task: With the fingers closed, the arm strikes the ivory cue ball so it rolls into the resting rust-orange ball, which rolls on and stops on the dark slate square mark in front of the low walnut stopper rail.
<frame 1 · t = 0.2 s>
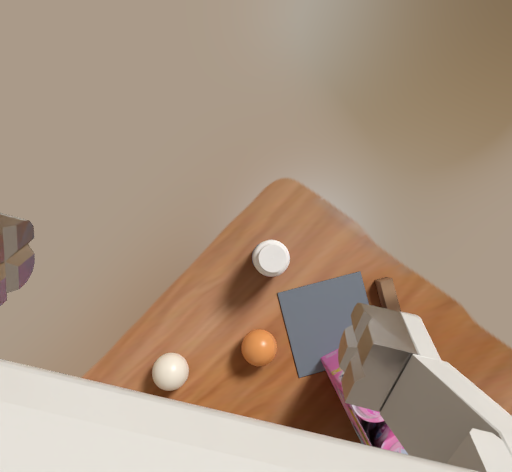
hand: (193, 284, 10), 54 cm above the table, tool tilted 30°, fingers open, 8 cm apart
object ball: (259, 347, 61), on the table
pill bottle: (268, 257, 64), on the table
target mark: (329, 324, 64), on the table
cue ball: (170, 371, 60), on the table
stopper: (388, 308, 64), on the table
gum box: (369, 408, 64), on the table
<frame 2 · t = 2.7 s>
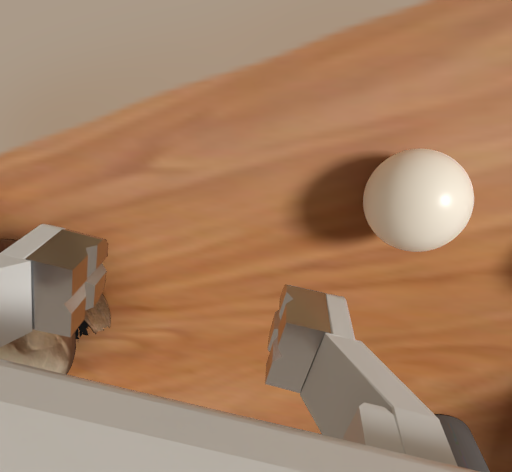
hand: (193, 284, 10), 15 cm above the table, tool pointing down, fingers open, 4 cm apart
skull: (36, 302, 30), on the table
bottle: (433, 435, 33), on the table
cue ball: (415, 200, 21), on the table
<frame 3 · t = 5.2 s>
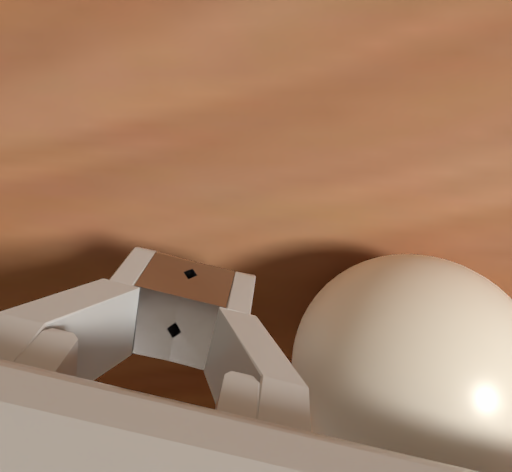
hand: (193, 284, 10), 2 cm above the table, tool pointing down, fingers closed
cue ball: (408, 370, 9), on the table
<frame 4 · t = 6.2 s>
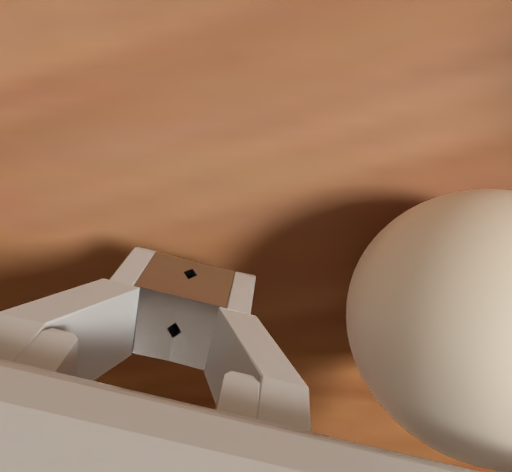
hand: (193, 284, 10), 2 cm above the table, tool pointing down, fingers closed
cue ball: (479, 320, 8), on the table
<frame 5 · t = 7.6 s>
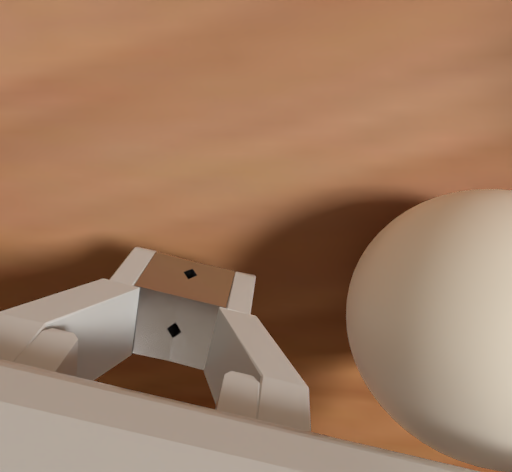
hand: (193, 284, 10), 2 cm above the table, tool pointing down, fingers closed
cue ball: (479, 320, 8), on the table
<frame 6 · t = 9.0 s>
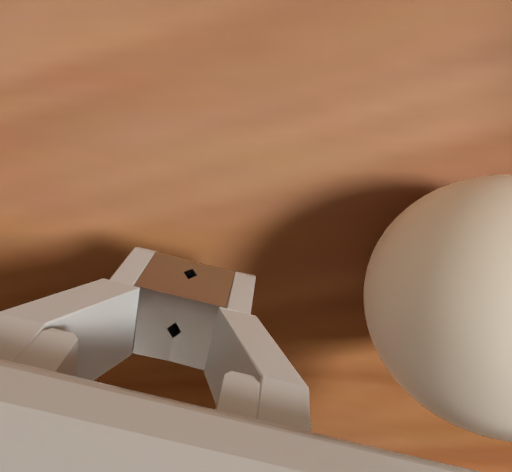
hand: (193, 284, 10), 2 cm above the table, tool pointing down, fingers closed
cue ball: (493, 301, 9), on the table
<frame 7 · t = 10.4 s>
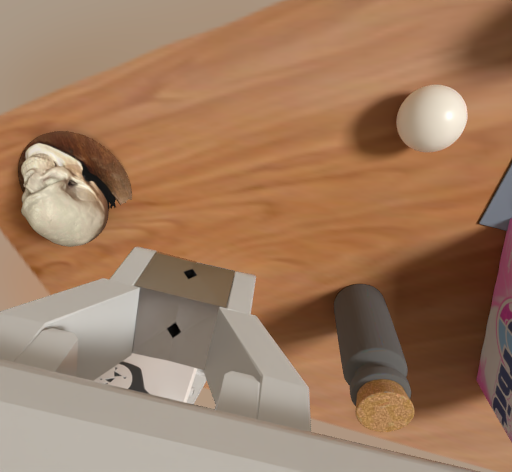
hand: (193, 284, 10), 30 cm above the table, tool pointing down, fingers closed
skull: (79, 185, 43), on the table
bottle: (358, 303, 46), on the table
cue ball: (430, 119, 33), on the table
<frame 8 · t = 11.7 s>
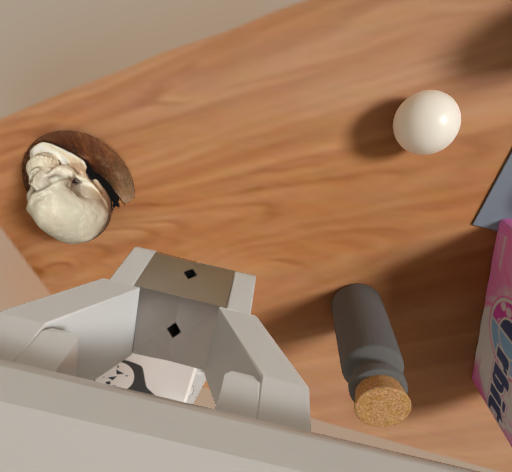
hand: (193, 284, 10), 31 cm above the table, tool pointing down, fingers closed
skull: (82, 184, 43), on the table
bottle: (355, 302, 47), on the table
cue ball: (425, 123, 35), on the table
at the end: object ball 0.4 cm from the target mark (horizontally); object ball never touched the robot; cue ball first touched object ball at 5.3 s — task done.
